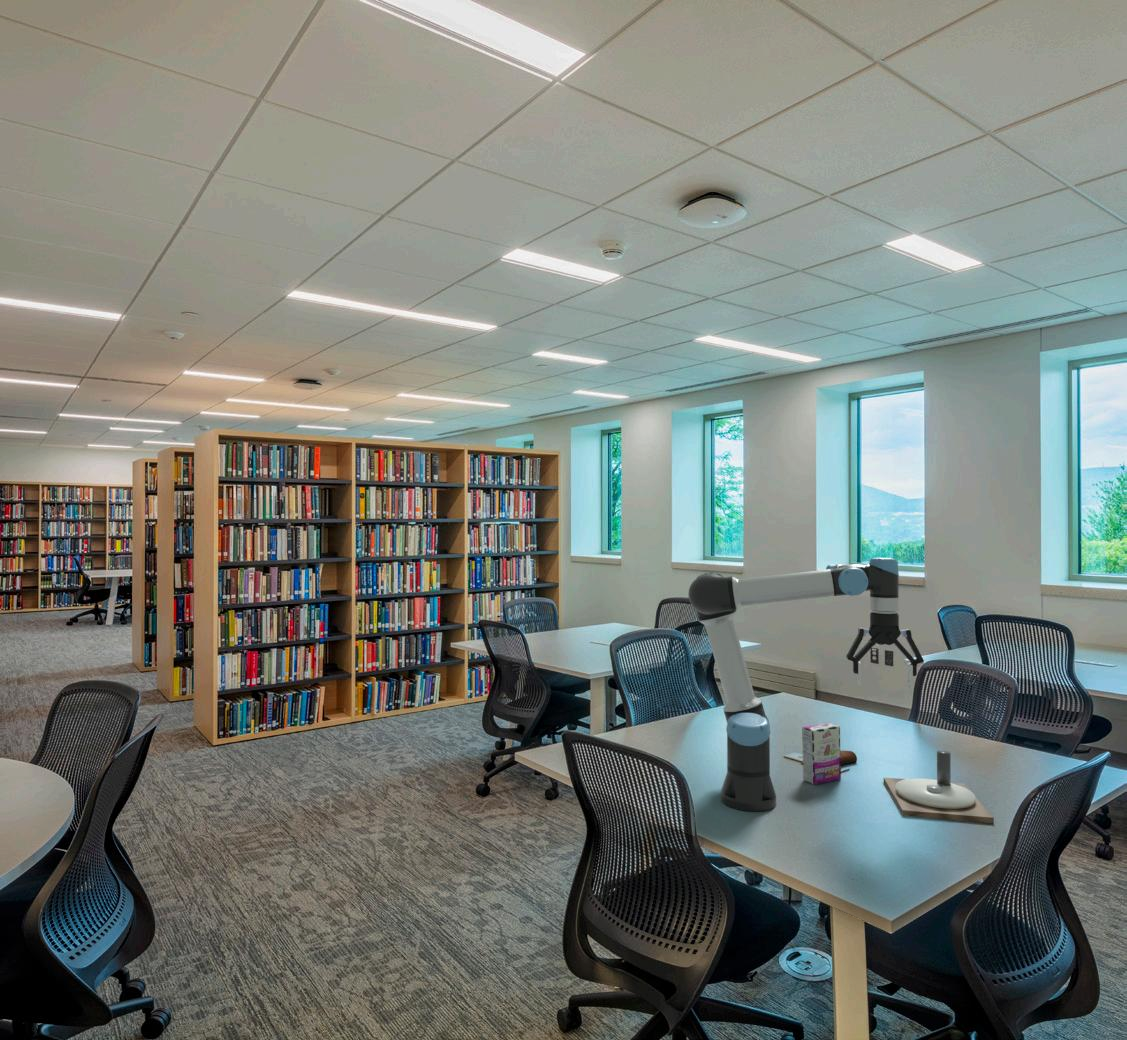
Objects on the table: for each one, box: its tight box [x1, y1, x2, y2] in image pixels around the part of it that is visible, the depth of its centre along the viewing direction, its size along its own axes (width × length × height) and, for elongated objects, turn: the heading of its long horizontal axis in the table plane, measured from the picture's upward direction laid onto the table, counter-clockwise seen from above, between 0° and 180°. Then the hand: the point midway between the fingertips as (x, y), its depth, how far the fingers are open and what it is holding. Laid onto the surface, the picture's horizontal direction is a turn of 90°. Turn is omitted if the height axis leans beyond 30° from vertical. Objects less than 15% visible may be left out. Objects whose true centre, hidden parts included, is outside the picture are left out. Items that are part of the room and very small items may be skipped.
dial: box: [896, 750, 976, 809], centre depth 206 cm, size 20×20×10 cm
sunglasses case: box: [800, 749, 858, 766], centre depth 238 cm, size 18×7×7 cm
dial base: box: [883, 777, 995, 824], centre depth 206 cm, size 22×26×2 cm
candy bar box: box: [801, 722, 842, 786], centre depth 223 cm, size 11×5×16 cm, turn 115°
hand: (884, 686), depth 209 cm, fingers open, 13 cm apart
